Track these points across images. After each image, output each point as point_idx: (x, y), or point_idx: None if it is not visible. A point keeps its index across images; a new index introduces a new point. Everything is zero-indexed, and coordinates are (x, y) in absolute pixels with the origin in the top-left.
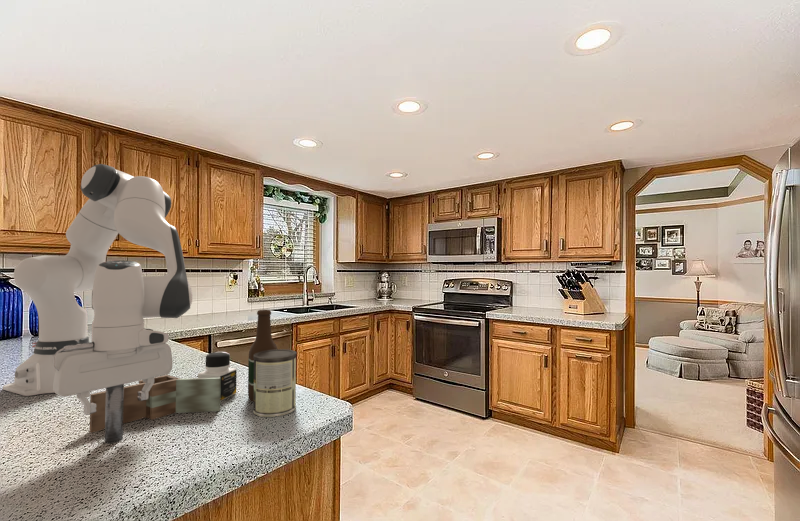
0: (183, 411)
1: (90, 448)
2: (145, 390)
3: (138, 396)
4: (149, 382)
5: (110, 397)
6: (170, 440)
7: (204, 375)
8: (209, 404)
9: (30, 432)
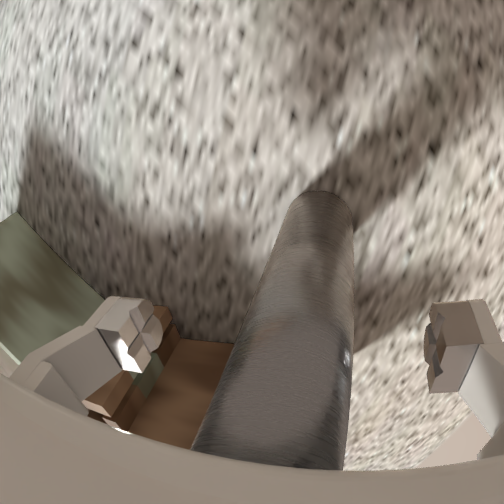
0: (85, 286)
1: (409, 210)
2: (93, 341)
3: (149, 344)
4: (42, 366)
5: (334, 375)
6: (147, 38)
7: (12, 366)
8: (18, 241)
9: (418, 432)
